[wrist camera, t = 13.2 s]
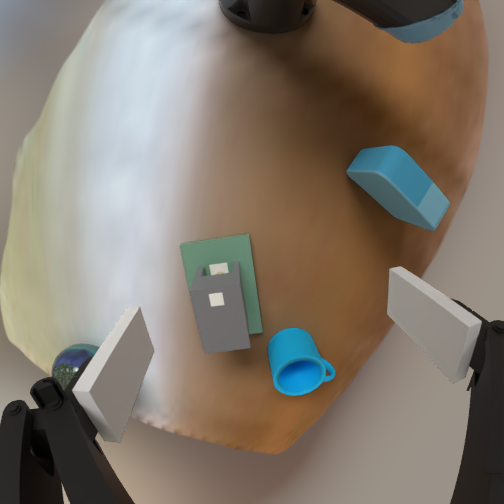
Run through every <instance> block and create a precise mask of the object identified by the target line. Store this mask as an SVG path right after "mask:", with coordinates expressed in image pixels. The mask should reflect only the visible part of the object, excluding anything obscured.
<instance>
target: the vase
mask: <svg viewBox="0 0 504 504" xmlns="http://www.w3.org/2000/svg"><path fill="white" fill-rule="evenodd" d="M99 348H100V347H98V346H95V345H91V344H76V345H72V346H69V347H68V348H66V349H64V350H63V351H62V352H61V353H59V355H58V356H57V357H56V359H55V361H54V363H53V366H52V372H51V374H52V377H53V378H56V379H57V380H58V381H59V383H60V385H61V387H62V388H63V390H65V388H66V387H67V385H68V384H69V382H70V381H71V379H72V378H73V377H74V375H75V373H76V372H77V371H78V369H79V367H80V366H81V364H82V363H83V362H84V361H85V360H87V359H88V358H89V357H94V355H95V354H96V352H97V351H98V349H99Z"/></svg>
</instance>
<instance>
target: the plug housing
mask: <svg viewBox="0 0 504 504" xmlns="http://www.w3.org/2000/svg"><path fill="white" fill-rule="evenodd" d="M189 292H190V296H191V301H192V305H193V309H194V313H195V317H196V321H197V326H198V329H199V333H200V337H201V341H202V345H203V349H204V352H205V354H206V353H215V352H224V351H232V350H240V349H247V348H251V346H250V336H249V326H248V316H247V310H246V304H245V297H244V291H243V285H242V279H241V272H240V266H239V261H235V262H233V265H232V272H231V273H224V274H217V275H210V276H206V274H205V268H204V266H201V267H198V268H197V271H196V274H195V277H194V279H193V282H192V285H191V288H190V291H189Z"/></svg>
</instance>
